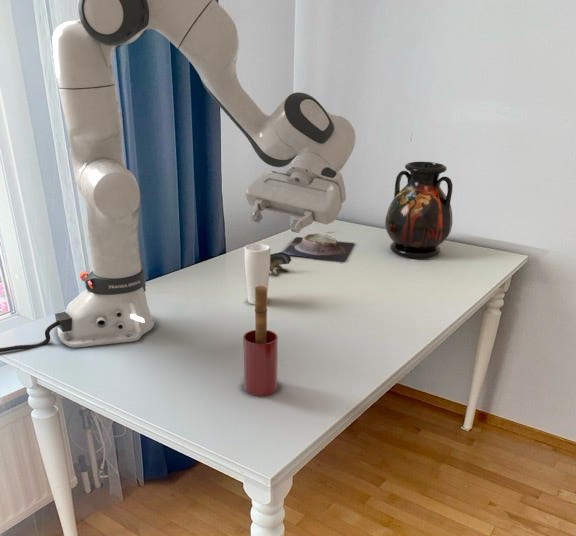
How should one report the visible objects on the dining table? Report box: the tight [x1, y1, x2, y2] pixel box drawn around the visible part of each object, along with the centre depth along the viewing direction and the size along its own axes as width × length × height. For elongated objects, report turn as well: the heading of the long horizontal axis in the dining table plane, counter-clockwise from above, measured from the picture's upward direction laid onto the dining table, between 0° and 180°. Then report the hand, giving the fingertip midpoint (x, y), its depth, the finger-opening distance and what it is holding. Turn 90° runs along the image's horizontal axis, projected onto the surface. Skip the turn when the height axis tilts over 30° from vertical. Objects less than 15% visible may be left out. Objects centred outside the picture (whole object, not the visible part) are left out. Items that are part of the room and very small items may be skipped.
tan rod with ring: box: [254, 286, 268, 344], centre depth 117 cm, size 2×2×21 cm
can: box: [242, 329, 279, 397], centre depth 120 cm, size 7×7×12 cm
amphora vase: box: [384, 161, 453, 260], centre depth 194 cm, size 22×22×28 cm
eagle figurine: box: [270, 251, 293, 276], centre depth 180 cm, size 8×7×9 cm
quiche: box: [282, 233, 354, 263], centre depth 201 cm, size 21×20×4 cm
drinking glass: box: [243, 243, 271, 306], centre depth 158 cm, size 7×7×15 cm
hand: (273, 224), depth 118 cm, fingers open, 8 cm apart
